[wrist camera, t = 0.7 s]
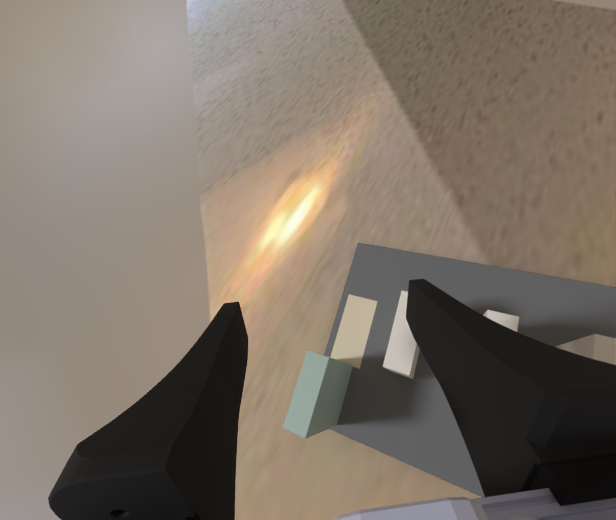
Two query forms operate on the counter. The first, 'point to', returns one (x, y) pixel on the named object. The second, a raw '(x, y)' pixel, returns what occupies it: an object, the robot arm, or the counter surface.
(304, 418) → the domino
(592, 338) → the domino
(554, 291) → the mat
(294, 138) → the counter surface
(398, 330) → the domino
